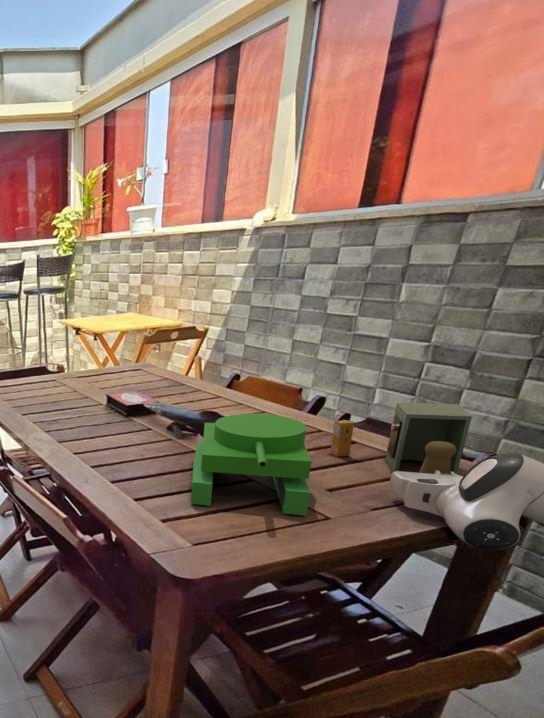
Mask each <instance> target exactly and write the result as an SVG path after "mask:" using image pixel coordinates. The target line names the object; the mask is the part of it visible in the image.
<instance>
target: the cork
mask: <svg viewBox="0 0 544 718" xmlns="http://www.w3.org/2000/svg"><path fill="white" fill-rule="evenodd" d="M425 452H426V454H427V455H426V458H425V460H424V461H422V464H421V467H420V469H419V471H418V473H428V474H435V471H436V470H438V471H450V464H451V457H452V456H454V455H455V453H456V447H455V445H453V444H452V443H449V442H443V441H433V442H429V443H428V444H427V445H426V447H425Z"/></svg>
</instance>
